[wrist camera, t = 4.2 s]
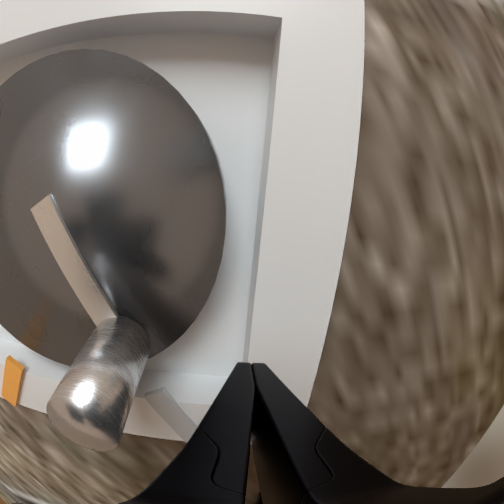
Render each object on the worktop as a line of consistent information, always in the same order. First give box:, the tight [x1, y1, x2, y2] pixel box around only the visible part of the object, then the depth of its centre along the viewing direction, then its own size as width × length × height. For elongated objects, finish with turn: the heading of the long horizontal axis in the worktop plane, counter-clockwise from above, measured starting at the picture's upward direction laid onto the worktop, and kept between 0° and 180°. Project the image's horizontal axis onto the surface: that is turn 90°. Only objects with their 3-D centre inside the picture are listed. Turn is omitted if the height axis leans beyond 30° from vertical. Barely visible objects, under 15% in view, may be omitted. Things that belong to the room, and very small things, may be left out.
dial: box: [0, 49, 226, 451], centre depth 7 cm, size 11×11×6 cm
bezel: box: [0, 0, 364, 445], centre depth 10 cm, size 18×18×3 cm
